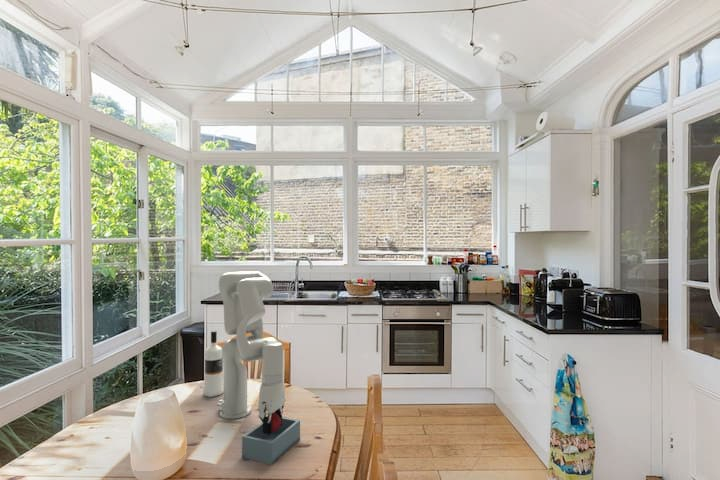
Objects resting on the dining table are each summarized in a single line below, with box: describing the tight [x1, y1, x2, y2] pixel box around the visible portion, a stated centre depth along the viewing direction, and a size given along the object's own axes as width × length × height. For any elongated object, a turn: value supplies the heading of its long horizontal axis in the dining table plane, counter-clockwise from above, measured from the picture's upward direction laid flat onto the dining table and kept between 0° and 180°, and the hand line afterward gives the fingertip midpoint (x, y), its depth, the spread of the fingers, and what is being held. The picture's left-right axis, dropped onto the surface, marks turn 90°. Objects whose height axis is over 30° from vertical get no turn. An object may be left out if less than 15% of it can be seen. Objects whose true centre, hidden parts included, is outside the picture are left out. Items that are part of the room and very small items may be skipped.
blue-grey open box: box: [241, 416, 301, 465], centre depth 140 cm, size 12×18×7 cm, turn 159°
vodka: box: [202, 330, 224, 398], centre depth 191 cm, size 9×9×30 cm
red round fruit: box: [266, 412, 281, 434], centre depth 140 cm, size 6×6×8 cm
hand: (272, 428), depth 140 cm, fingers closed on red round fruit, 5 cm apart
